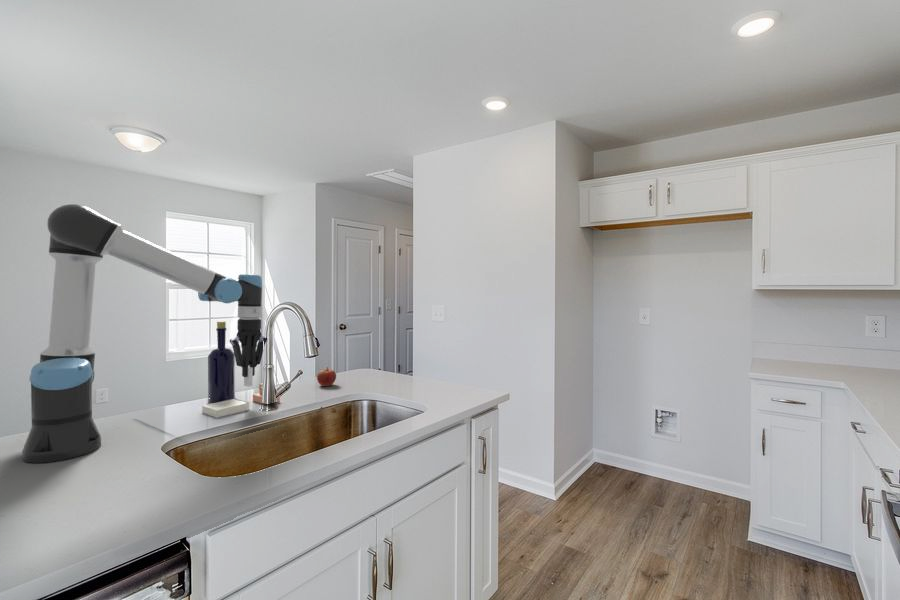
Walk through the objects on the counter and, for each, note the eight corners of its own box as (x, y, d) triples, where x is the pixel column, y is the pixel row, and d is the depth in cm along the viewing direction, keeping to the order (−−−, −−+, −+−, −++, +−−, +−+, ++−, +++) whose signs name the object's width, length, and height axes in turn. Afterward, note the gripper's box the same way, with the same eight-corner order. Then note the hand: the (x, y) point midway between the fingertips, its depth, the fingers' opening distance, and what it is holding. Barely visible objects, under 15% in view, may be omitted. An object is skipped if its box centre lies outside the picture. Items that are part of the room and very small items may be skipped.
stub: (267, 405, 152) (267, 388, 152) (252, 401, 158) (252, 384, 157) (279, 402, 157) (279, 385, 156) (265, 398, 162) (265, 382, 161)
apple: (337, 383, 192) (337, 365, 192) (334, 387, 184) (334, 369, 184) (319, 383, 192) (319, 365, 191) (315, 387, 184) (315, 369, 183)
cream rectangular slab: (216, 417, 138) (216, 409, 138) (202, 412, 143) (202, 405, 143) (249, 409, 147) (249, 402, 147) (234, 405, 152) (234, 398, 152)
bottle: (241, 400, 163) (240, 320, 162) (226, 406, 154) (225, 322, 153) (218, 399, 164) (217, 320, 163) (201, 405, 155) (201, 322, 154)
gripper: (237, 319, 143) (235, 390, 144) (272, 318, 154) (271, 384, 155) (225, 318, 148) (224, 387, 148) (260, 317, 158) (259, 381, 159)
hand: (248, 385), depth 151 cm, fingers closed
